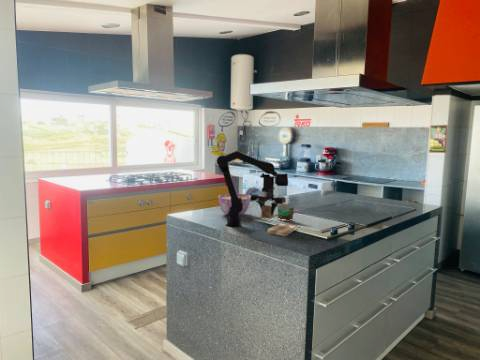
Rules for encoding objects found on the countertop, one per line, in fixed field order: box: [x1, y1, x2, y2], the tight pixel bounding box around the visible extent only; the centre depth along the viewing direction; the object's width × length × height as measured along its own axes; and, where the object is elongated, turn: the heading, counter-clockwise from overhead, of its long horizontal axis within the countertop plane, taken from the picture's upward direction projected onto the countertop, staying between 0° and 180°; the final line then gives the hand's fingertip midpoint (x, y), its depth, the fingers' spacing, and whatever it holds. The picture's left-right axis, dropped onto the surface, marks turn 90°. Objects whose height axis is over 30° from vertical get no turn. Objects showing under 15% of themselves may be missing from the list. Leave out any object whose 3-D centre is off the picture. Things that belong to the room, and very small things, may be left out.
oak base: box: [266, 223, 296, 237], centre depth 193 cm, size 10×14×2 cm
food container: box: [276, 202, 296, 220], centre depth 216 cm, size 12×6×10 cm, turn 45°
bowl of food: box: [217, 193, 251, 216], centre depth 226 cm, size 20×20×12 cm
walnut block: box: [260, 204, 275, 219], centre depth 202 cm, size 5×5×6 cm
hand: (267, 214), depth 202 cm, fingers closed on walnut block, 5 cm apart
